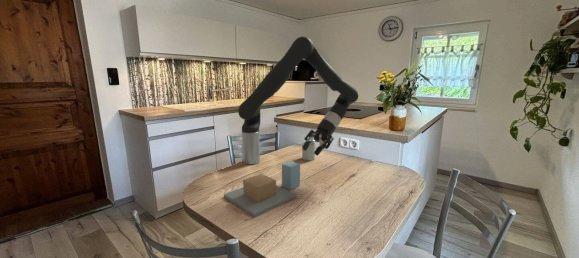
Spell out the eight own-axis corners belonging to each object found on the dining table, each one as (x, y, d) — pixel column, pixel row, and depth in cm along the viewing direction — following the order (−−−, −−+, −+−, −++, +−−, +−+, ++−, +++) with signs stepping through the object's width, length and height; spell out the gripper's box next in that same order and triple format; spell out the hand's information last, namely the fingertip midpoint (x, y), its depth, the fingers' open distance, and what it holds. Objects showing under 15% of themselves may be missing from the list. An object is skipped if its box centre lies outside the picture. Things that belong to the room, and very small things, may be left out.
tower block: (281, 185, 109) (281, 163, 107) (290, 182, 113) (291, 160, 111) (290, 189, 105) (290, 167, 103) (299, 185, 109) (300, 163, 107)
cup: (299, 159, 144) (299, 143, 142) (309, 154, 152) (309, 140, 150) (310, 161, 140) (310, 146, 138) (319, 156, 148) (320, 142, 146)
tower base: (224, 197, 99) (223, 179, 98) (264, 182, 113) (263, 166, 111) (254, 217, 85) (254, 197, 84) (296, 197, 99) (296, 180, 97)
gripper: (315, 116, 120) (295, 143, 116) (336, 120, 108) (315, 151, 104) (323, 126, 124) (304, 152, 120) (344, 131, 112) (324, 161, 108)
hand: (309, 151), depth 112 cm, fingers open, 8 cm apart
